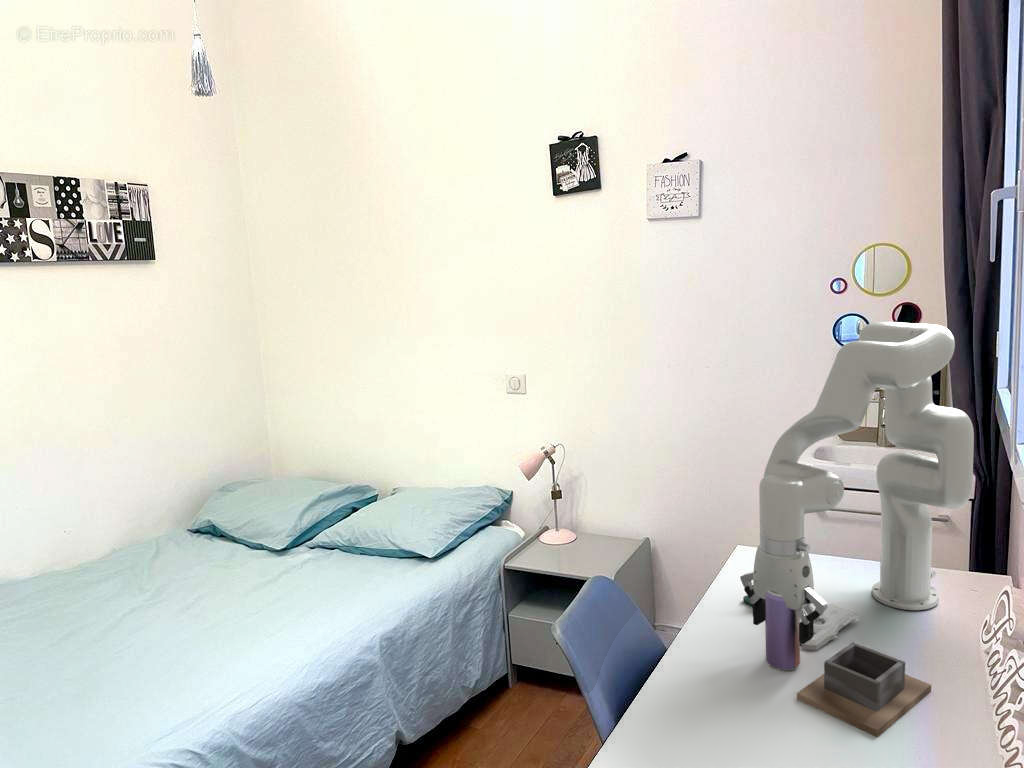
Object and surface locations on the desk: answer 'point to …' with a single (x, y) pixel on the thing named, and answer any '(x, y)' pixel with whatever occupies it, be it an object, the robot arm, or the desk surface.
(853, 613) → the grey mechanical plate
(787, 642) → the beverage can
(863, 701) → the can dock
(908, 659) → the desk surface
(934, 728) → the desk surface
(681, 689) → the desk surface
